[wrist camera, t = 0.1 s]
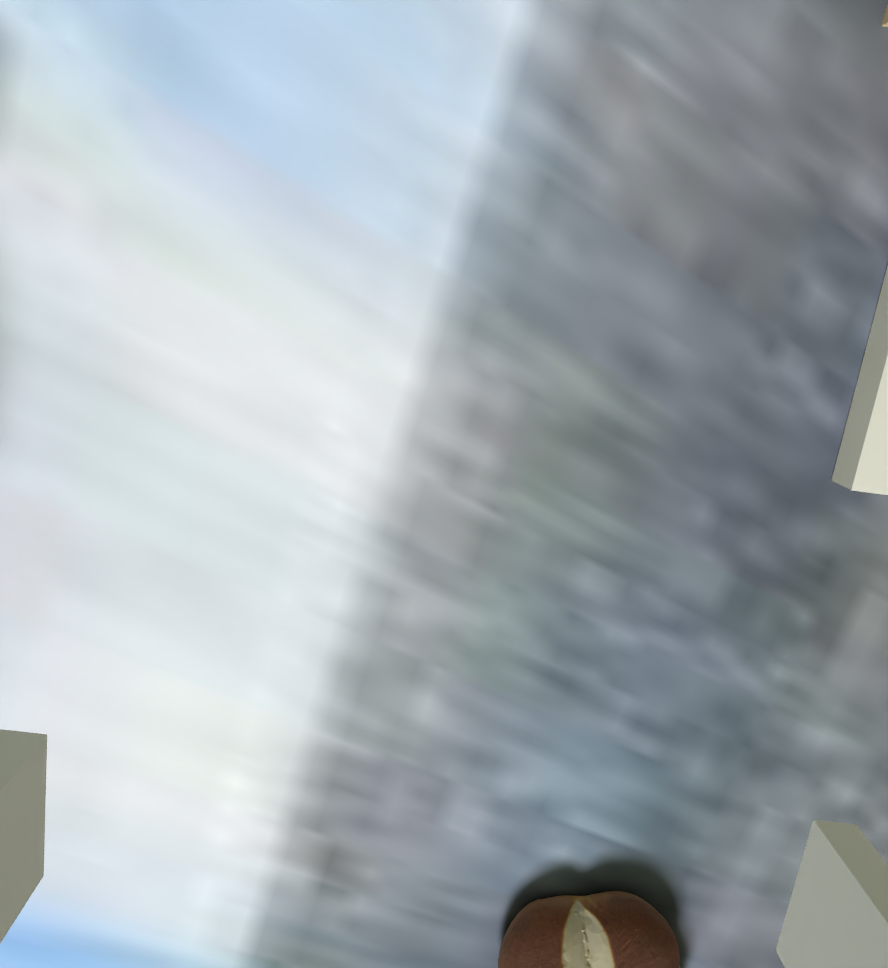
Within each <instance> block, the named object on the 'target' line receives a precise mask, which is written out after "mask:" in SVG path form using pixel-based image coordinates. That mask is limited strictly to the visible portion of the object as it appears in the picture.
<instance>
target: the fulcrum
mask: <svg viewBox="0 0 888 968" xmlns="http://www.w3.org/2000/svg"><path fill="white" fill-rule="evenodd" d="M832 481H834V482H836V483H838V484H840V485H842V486H844V487H846V488H848V489H850V490H853V491H861V492H868V493H876V494H884V495H888V266H887V269H886V273H885V277H884V281H883V285H882V289H881V292H880V296H879V300H878V304H877V308H876V312H875V315H874V319H873V323H872V327H871V331H870V335H869V338H868V342H867V346H866V350H865V354H864V358H863V361H862V365H861V369H860V373H859V377H858V381H857V384H856V388H855V392H854V396H853V400H852V404H851V407H850V411H849V415H848V419H847V423H846V427H845V430H844V434H843V438H842V442H841V446H840V450H839V453H838V457H837V461H836V465H835V469H834V472H833V476H832Z"/></svg>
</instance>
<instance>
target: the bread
mask: <svg viewBox="0 0 888 968" xmlns="http://www.w3.org/2000/svg"><path fill="white" fill-rule="evenodd" d="M498 968H680V962H679V947H678V943H677V939H676V937H675V935H674V932H673V931H672V929H671V927H670V926H669V924H668V923H667V921H666V920H665V919H664V918H663V916H662V915H661V914H660V913H659V912H658V911H657V910H656V909H655V908H654V907H652V906H651V905H650V904H649V903H648V902H646V901H645V900H643V899H642V898H640V897H638V896H636V895H634V894H631V893H628V892H624V891H607V892H602V893H596V894H591V895H587V896H570V895H562V896H554V897H550V898H546V899H538V900H535V901H533V902H531V903H529V904H528V905H526V906H525V907H524V908H523V909H522V910H521V911H520V912H519V913H518V914H517V915H516V917H515V918H514V919H513V921H512V922H511V924H510V926H509V928H508V930H507V932H506V934H505V936H504V938H503V941H502V945H501V948H500V953H499V959H498Z"/></svg>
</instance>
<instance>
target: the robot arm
mask: <svg viewBox="0 0 888 968" xmlns="http://www.w3.org/2000/svg"><path fill="white" fill-rule="evenodd" d="M46 757H47V735H46V734H37V733H28V732H19V731H10V730H1V729H0V943H1V941H2V940H3V938H4V937H5V935H6V934H7V932H8V930H9V929H10V927H11V926H12V924H13V923H14V921H15V919H16V918H17V916H18V915H19V913H20V912H21V910H22V908H23V907H24V905H25V904H26V902H27V901H28V899H29V897H30V896H31V894H32V893H33V891H34V890H35V888H36V886H37V885H38V883H39V882H40V880H41V879H42V877H43V873H44V834H45V795H46ZM776 951H777V953H778V955H779V957H780V959H781V961H782V963H783V965H784V967H785V968H888V865H887V864H886V862H885V861H884V860H883V858H882V857H881V856H880V855H879V853H878V852H877V851H876V850H875V848H874V847H873V846H872V845H871V843H870V842H869V841H868V839H867V838H866V837H865V836H864V834H863V833H862V832H861V831H860V829H859V828H858V827H857V825H855V824H846V823H837V822H828V821H819V820H813V823H812V827H811V830H810V834H809V837H808V841H807V844H806V848H805V851H804V854H803V858H802V861H801V865H800V868H799V872H798V875H797V879H796V882H795V885H794V889H793V892H792V896H791V899H790V903H789V906H788V909H787V913H786V916H785V920H784V923H783V927H782V930H781V934H780V937H779V940H778V944H777V947H776Z"/></svg>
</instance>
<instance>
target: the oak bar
mask: <svg viewBox="0 0 888 968" xmlns="http://www.w3.org/2000/svg"><path fill="white" fill-rule="evenodd" d="M882 26H885V27H888V3H887V7H886V11H885V14H884V18H883V22H882Z"/></svg>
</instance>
